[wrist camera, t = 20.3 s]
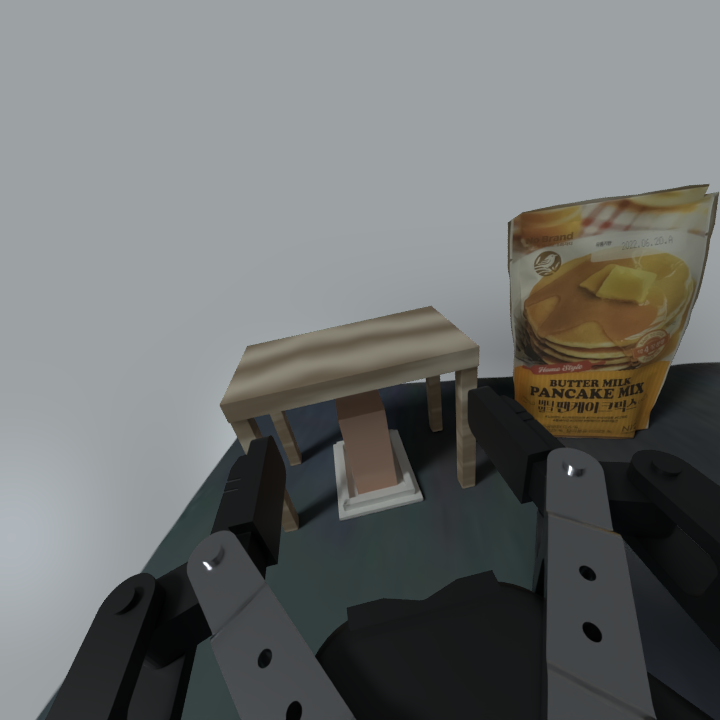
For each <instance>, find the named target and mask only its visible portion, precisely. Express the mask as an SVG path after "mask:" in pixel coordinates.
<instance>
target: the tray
mask: <svg viewBox="0 0 720 720" xmlns="http://www.w3.org/2000/svg"><path fill="white" fill-rule="evenodd" d="M388 431H389V437H390V443H391V449H392V455H393V461H394V467H395V472H396V478H397V484H398V485H395V486H391V487H387V488H383V489H379V490H375V491H371V492H367V493H363V494H359V495H358V491H357V488H356V484H355V480H354V477H353V473H352V469H351V466H350V462H349V458H348V455H347V451H346V447H345V444H344V440H343V441H339V442H337V444H334V445H333V448H334V460H335V471H336V483H337V495H338V506H339V518H340V521H342V520H346V519H351V518H355V517H359V516H363V515H367V514H371V513H375V512H379V511H383V510H387V509H391V508H395V507H399V506H403V505H407V504H411V503H415V502H419V501H423V497H422V494H421V491H420V489H419V486H418V483H417V481H416V478H415V475H414V473H413V470H412V468H411V465H410V462H409V460H408V457H407V454H406V452H405V449H404V446H403V444H402V441H401V438H400V436H399V433H398V430H393V429H390V430H388Z"/></svg>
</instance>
